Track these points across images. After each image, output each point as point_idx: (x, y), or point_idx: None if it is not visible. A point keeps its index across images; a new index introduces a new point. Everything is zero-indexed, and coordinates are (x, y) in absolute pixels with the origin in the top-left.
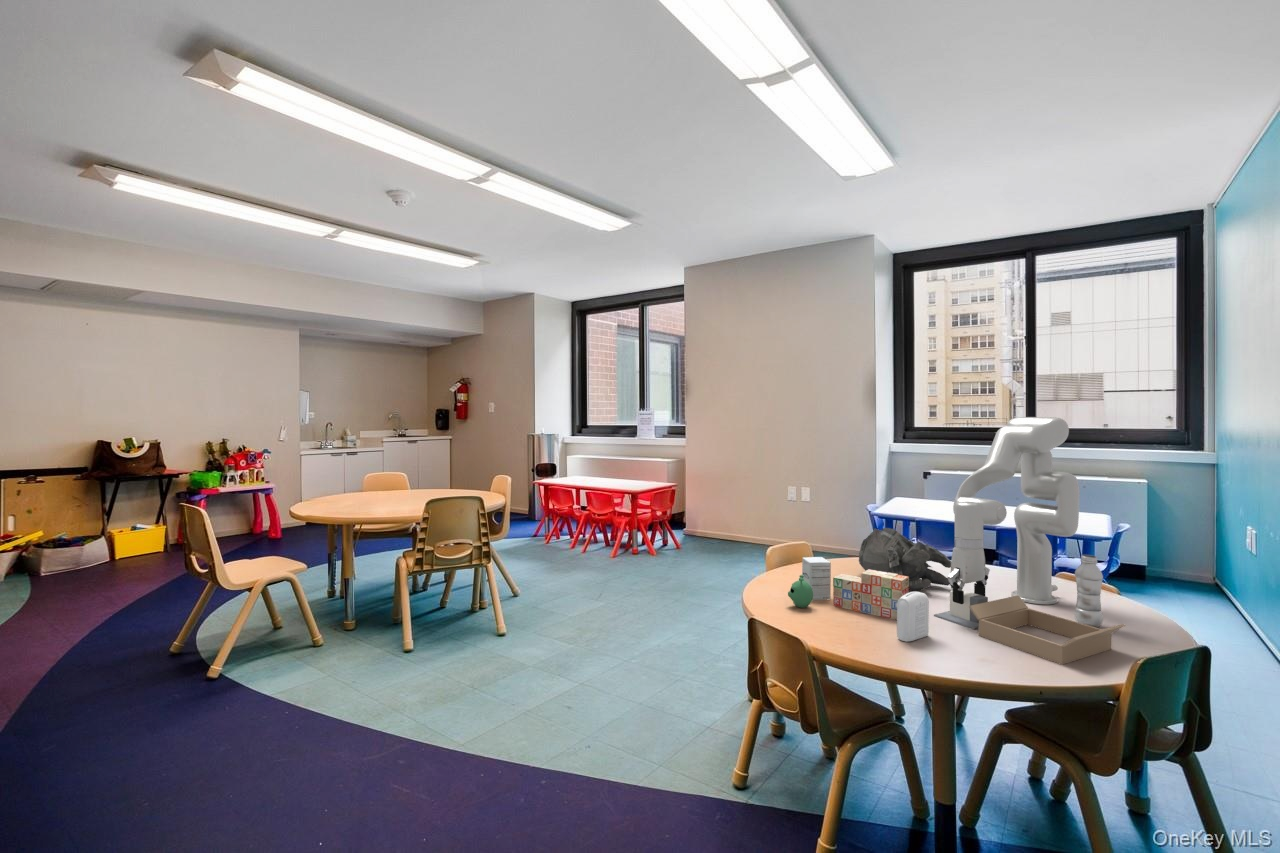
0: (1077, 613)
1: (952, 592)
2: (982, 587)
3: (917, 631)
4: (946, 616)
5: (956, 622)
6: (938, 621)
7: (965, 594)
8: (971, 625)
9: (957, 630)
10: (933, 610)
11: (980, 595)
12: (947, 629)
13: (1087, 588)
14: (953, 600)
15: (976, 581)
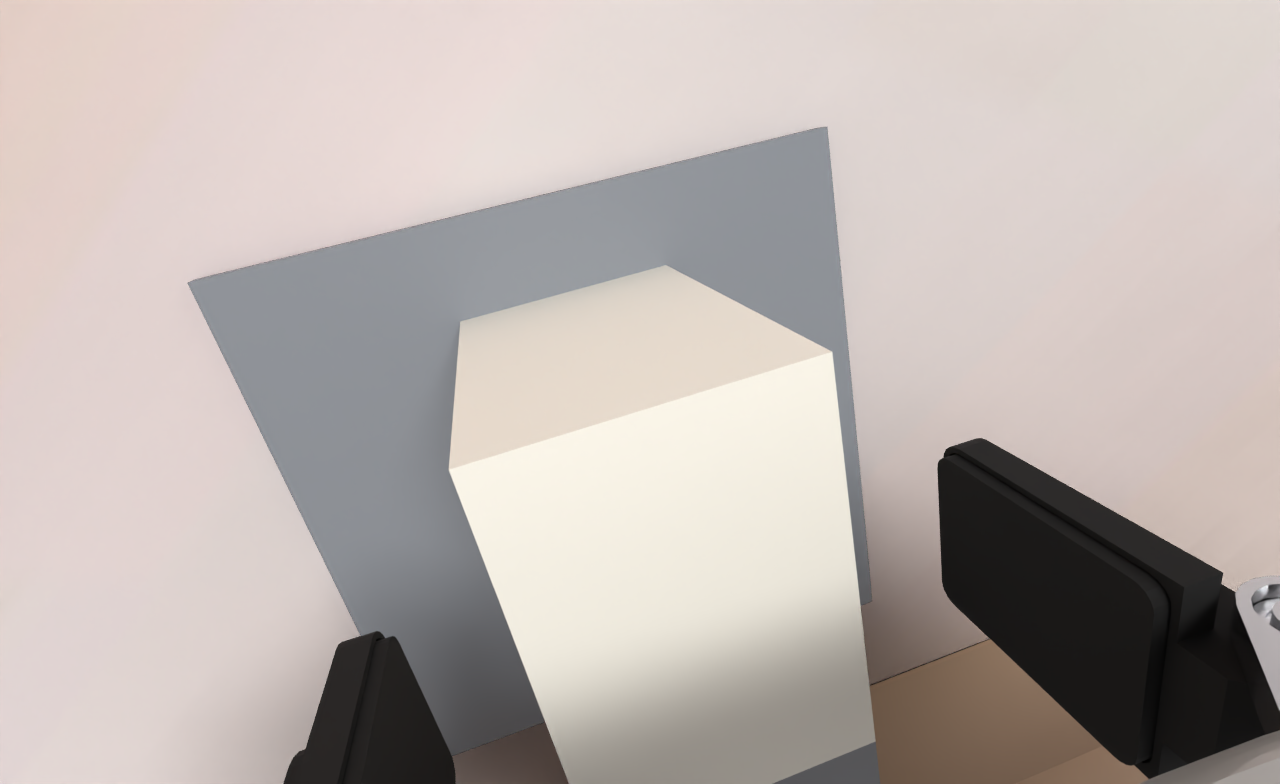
0: None
1: (474, 530)
2: (1112, 732)
3: None
4: (345, 400)
5: (344, 600)
6: (130, 503)
7: (641, 714)
8: (451, 705)
9: (209, 777)
10: (356, 28)
11: (857, 770)
12: (91, 754)
13: None
14: (344, 663)
15: (1250, 694)
